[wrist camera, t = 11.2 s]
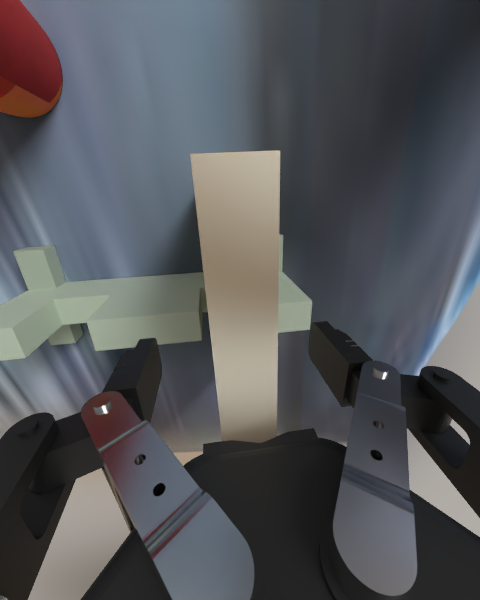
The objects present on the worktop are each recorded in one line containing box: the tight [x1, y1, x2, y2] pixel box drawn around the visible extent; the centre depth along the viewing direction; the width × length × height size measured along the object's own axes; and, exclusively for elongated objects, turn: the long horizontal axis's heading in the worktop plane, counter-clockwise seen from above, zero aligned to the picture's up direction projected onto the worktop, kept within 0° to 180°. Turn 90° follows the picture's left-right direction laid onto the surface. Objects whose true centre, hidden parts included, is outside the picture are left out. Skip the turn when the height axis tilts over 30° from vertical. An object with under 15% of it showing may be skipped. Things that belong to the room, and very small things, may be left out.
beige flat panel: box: [190, 150, 280, 443], centre depth 15 cm, size 16×2×15 cm, turn 3°
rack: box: [0, 233, 312, 361], centre depth 18 cm, size 8×20×8 cm, turn 92°
